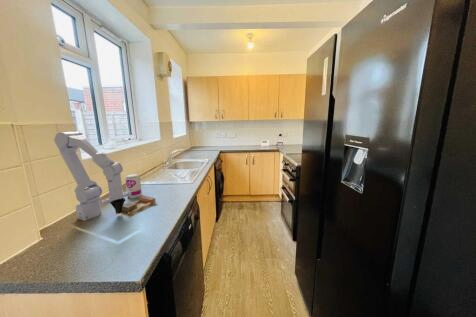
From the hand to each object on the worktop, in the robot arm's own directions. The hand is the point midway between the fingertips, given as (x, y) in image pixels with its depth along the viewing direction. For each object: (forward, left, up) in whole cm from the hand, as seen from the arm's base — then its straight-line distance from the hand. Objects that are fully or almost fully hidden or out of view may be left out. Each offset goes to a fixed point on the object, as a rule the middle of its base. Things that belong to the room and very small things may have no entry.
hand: (119, 212), depth 98 cm
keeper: (+5, 0, -1) cm, 6 cm away
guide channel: (+9, 0, -2) cm, 10 cm away
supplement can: (+21, +16, -3) cm, 27 cm away
